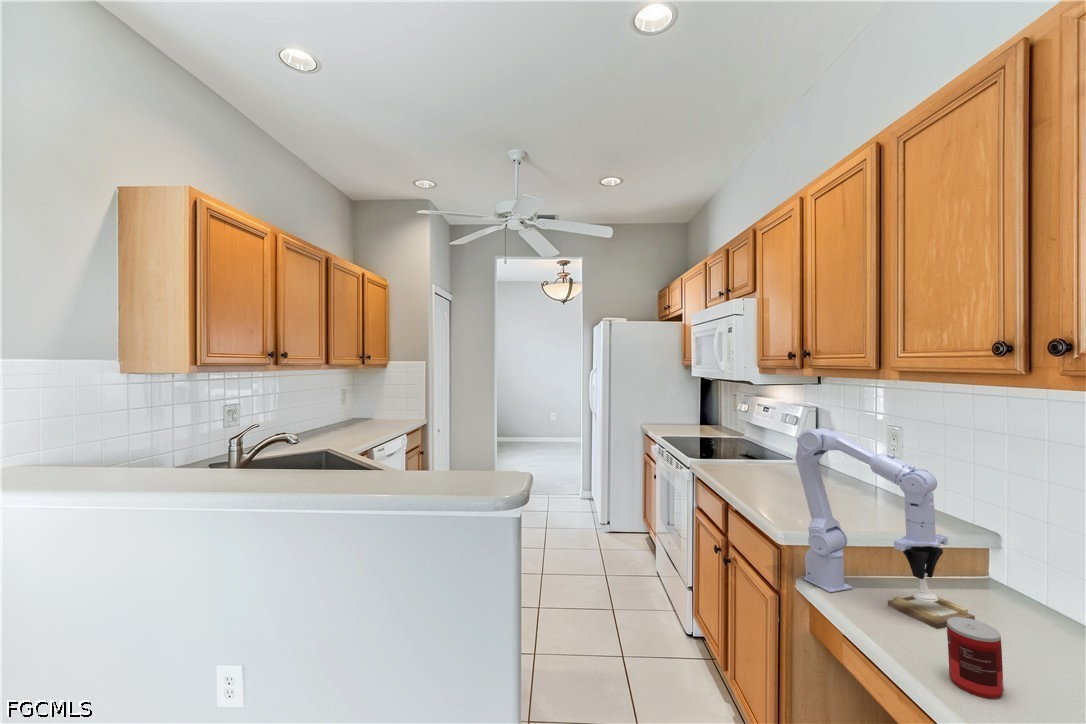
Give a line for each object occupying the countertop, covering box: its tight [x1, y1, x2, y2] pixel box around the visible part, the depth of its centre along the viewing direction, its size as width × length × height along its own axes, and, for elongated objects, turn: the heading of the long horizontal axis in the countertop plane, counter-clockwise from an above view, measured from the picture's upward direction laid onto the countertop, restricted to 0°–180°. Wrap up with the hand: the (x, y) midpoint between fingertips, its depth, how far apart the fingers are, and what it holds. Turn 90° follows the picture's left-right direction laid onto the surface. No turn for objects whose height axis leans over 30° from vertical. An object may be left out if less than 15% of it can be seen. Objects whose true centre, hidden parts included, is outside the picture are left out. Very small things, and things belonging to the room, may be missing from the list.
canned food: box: [946, 617, 1005, 699], centre depth 91 cm, size 8×8×11 cm
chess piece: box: [911, 563, 938, 602], centre depth 117 cm, size 5×5×10 cm
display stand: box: [887, 595, 976, 630], centre depth 119 cm, size 12×12×2 cm
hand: (922, 576), depth 117 cm, fingers closed on chess piece, 2 cm apart
